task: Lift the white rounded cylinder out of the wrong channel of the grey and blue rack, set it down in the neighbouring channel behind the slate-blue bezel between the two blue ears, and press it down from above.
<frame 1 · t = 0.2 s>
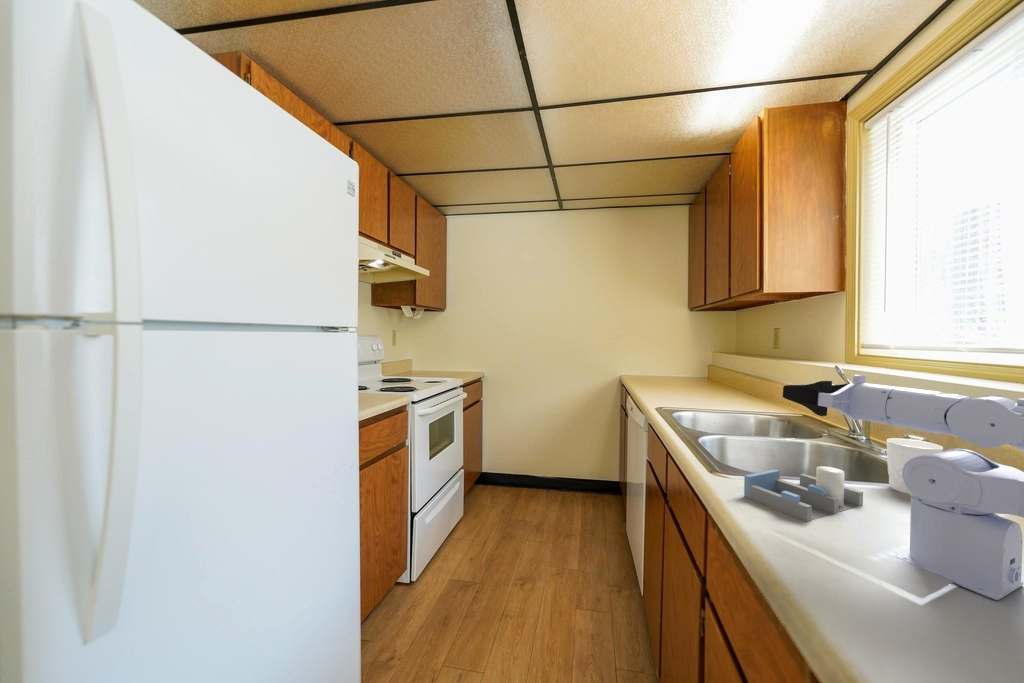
hand: (798, 391, 70), 21 cm above the countertop, tool horizontal, fingers open, 7 cm apart
grey and blue rack: (804, 504, 73), on the countertop
white rounded cylinder: (829, 502, 73), point 1 cm above the countertop, touching grey and blue rack
white cup: (912, 494, 79), on the countertop
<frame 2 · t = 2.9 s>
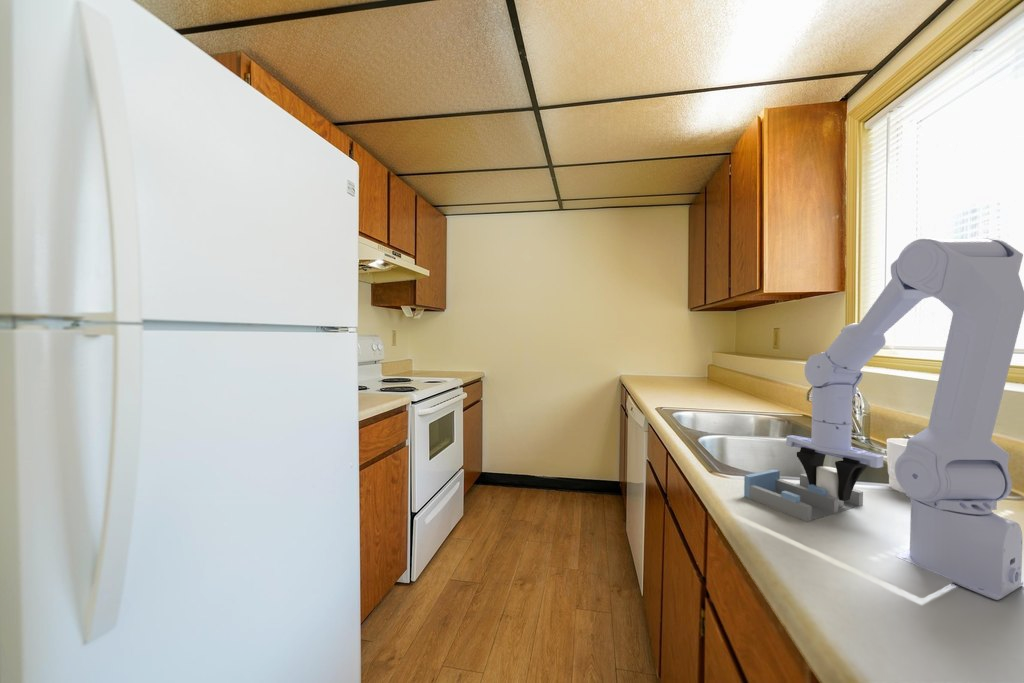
hand: (829, 494, 73), 2 cm above the countertop, tool pointing down, fingers closed on white rounded cylinder, 4 cm apart
white rounded cylinder: (829, 502, 73), point 1 cm above the countertop, touching grey and blue rack, gripper
everything else where it was.
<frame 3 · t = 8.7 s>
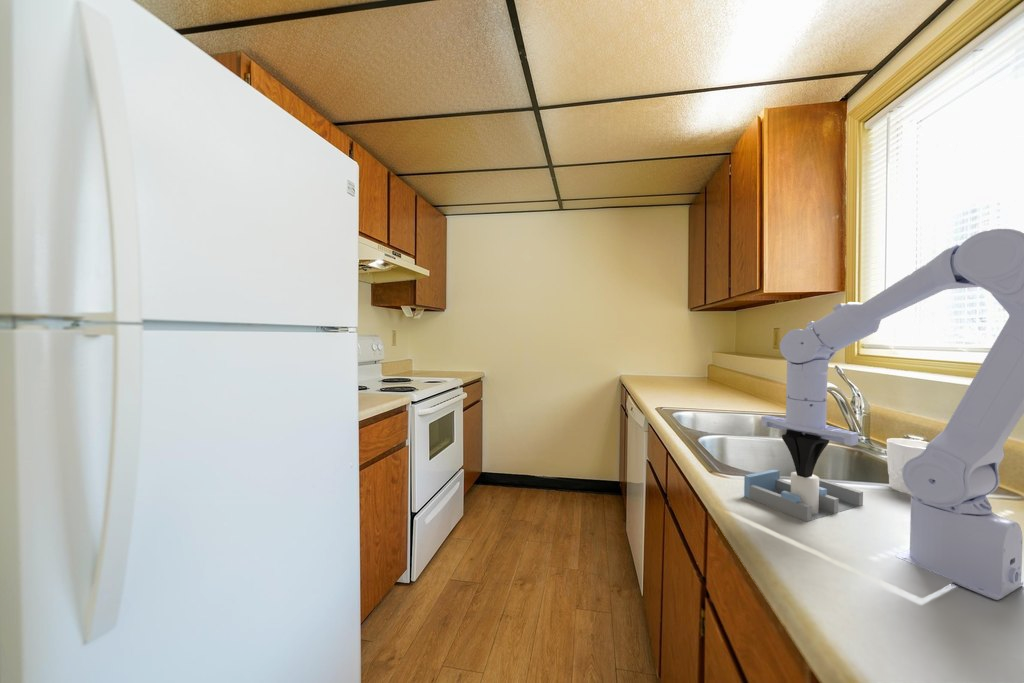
hand: (804, 475, 69), 7 cm above the countertop, tool pointing down, fingers closed, pressing on white rounded cylinder
white rounded cylinder: (804, 509, 70), point 1 cm above the countertop, touching grey and blue rack, gripper
everything else where it was.
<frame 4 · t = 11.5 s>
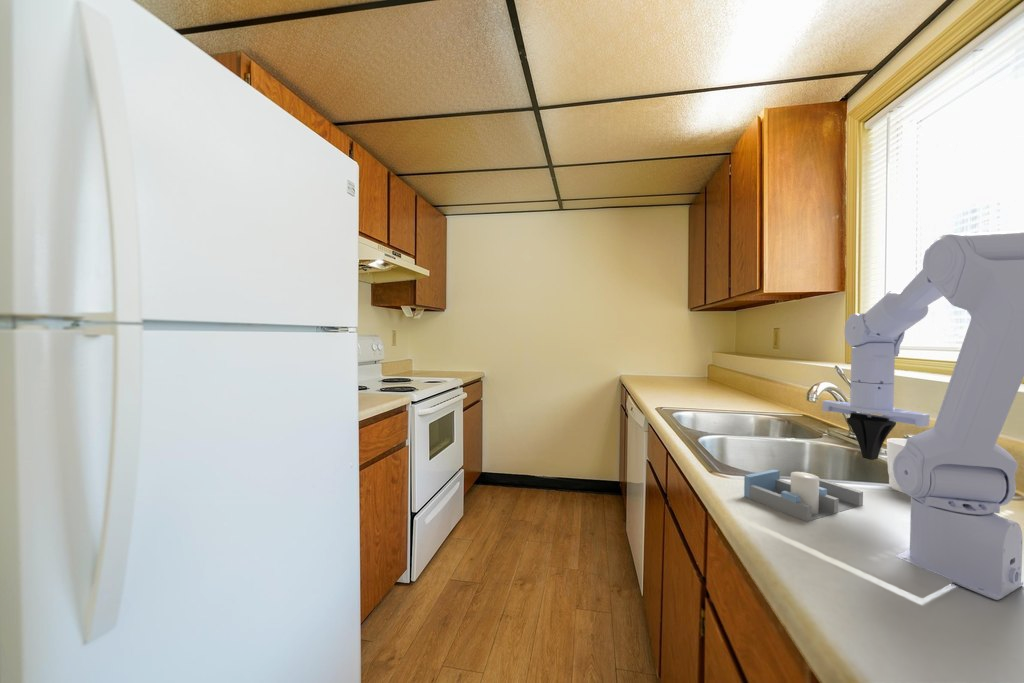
hand: (870, 458, 70), 9 cm above the countertop, tool pointing down, fingers closed
white rounded cylinder: (804, 509, 70), point 1 cm above the countertop, touching grey and blue rack
everything else where it was.
at the end: white rounded cylinder 0.0 cm from the target spot on the grey and blue rack, point 0.6 cm above the grey and blue rack's base; white rounded cylinder tilted 0°; the gripper is holding nothing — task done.
